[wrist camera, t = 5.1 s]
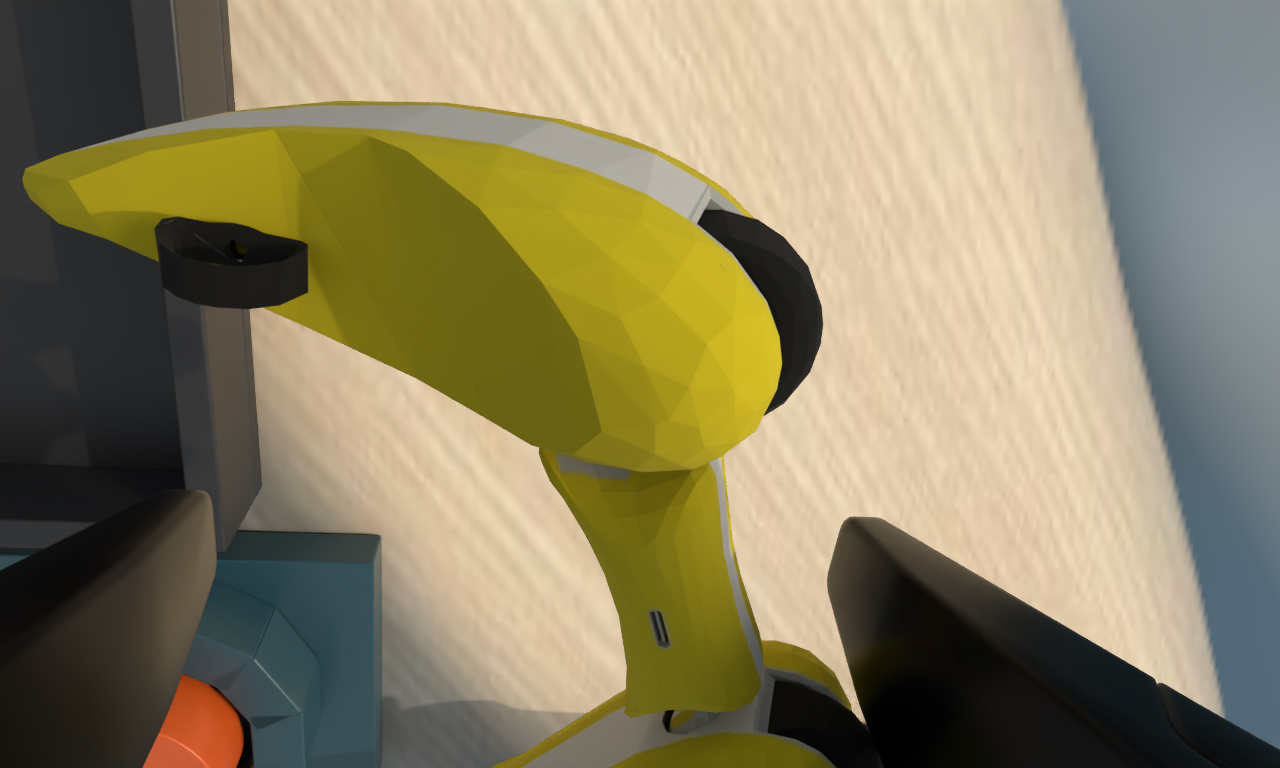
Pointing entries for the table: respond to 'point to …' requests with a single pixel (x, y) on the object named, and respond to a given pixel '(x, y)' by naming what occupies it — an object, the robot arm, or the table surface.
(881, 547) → the robot arm
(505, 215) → the yellow curved piece
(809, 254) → the table surface
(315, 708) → the dock switch
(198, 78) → the tray
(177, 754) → the button
